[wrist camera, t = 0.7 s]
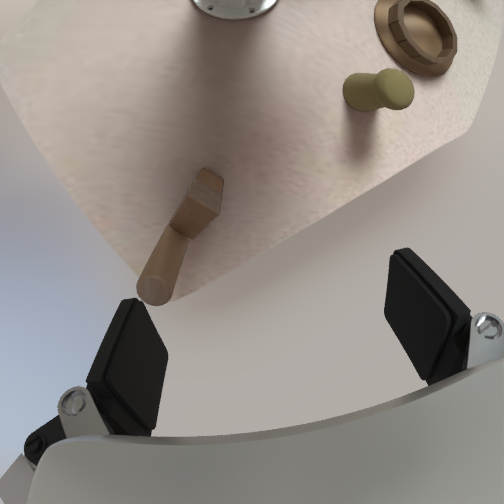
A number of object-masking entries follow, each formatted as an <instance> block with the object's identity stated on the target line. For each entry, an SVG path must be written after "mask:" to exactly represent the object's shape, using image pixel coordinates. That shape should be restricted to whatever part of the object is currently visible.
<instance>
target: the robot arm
mask: <svg viewBox="0 0 504 504" xmlns="http://www.w3.org/2000/svg"><path fill="white" fill-rule="evenodd" d="M193 1H194V3H195V4H196V5H197V6H198V7H199V8H200V9H201V10H202V11H204V12H205V13H207V14H209V15H212V16H214V17H218V18H222V19H229V20H239V19H246V18H251V17H254V16H257V15H259V14H262V13H264V12H265V11H267V10H268V9H270V8H271V7H272V6H273V5H274V4H275V3H276V1H277V0H193ZM210 9H213V10H210ZM250 11H253V12H254V13H251V12H250ZM470 312H471V310H470V309H469V308H468V307H467V306H466V305H465V304H464V303H463V301H462V300H461V299H460V298H459V297H458V296H457V295H456V294H455V293H454V292H453V291H452V290H451V289H450V288H449V286H448V285H447V284H446V283H445V282H444V281H443V280H442V279H441V278H440V277H439V276H438V275H437V274H436V273H435V272H434V271H433V270H432V269H431V268H430V267H429V266H428V265H427V264H426V263H425V262H424V261H423V260H422V259H421V258H420V257H419V256H417V255H416V254H415V253H414V252H413V251H412V250H411V249H410V248H403V249H399V250H395V251H394V253H393V255H391V256H390V262H389V273H388V283H387V292H386V300H385V307H384V314H385V318H386V320H387V321H388V323H389V324H390V326H391V328H392V330H393V331H394V333H395V335H396V336H397V338H398V339H399V341H400V343H401V345H402V346H403V348H404V350H405V351H406V353H407V355H408V356H409V358H410V360H411V362H412V363H413V365H414V367H415V369H416V371H417V373H418V374H419V376H420V378H421V379H422V380H426V382H427V384H428V387H425V388H423V389H420V390H417V391H415V392H412V393H410V394H407V395H405V396H402V397H399V398H396V399H394V400H391V401H388V402H385V403H382V404H379V405H376V406H373V407H369V408H366V409H363V410H359V411H356V412H352V413H349V414H345V415H341V416H337V417H334V418H329V419H325V420H321V421H316V422H312V423H307V424H302V425H297V426H291V427H286V428H279V429H274V430H266V431H259V432H251V433H241V434H231V435H217V436H198V437H151V432H152V430H153V429H155V427H156V422H157V416H158V410H159V404H160V399H161V393H162V388H163V382H164V377H165V371H166V367H167V362H168V352H167V349H166V347H165V345H164V343H163V341H162V339H161V338H160V336H159V334H158V332H157V330H156V328H155V326H154V324H153V322H152V320H151V318H150V316H149V314H148V311H147V309H146V307H145V305H144V303H143V302H142V301H139V300H138V299H137V298H131V299H124V300H122V301H121V303H120V305H119V307H118V309H117V311H116V313H115V315H114V317H113V319H112V322H111V324H110V326H109V328H108V330H107V332H106V334H105V336H104V339H103V341H102V343H101V345H100V348H99V350H98V352H97V355H96V357H95V360H94V362H93V364H92V366H91V369H90V372H89V374H88V376H87V379H86V382H87V387H86V388H84V387H80V386H77V387H73V388H71V389H69V390H67V391H66V392H65V393H64V394H63V395H62V396H61V398H60V400H59V403H58V413H59V415H58V416H56V417H55V418H53V419H52V420H50V421H49V422H47V423H46V424H45V425H43V426H42V427H40V428H39V429H37V430H36V431H34V432H33V433H31V434H30V435H29V436H28V438H27V439H26V442H25V445H24V453H25V455H23V454H20V456H19V457H18V458H17V459H16V460H15V462H14V463H13V464H12V465H11V466H10V468H9V469H8V470H7V471H6V473H5V474H4V475H3V476H2V478H1V479H0V497H1V499H2V500H3V502H4V503H5V504H504V323H503V321H502V320H501V319H500V318H498V317H497V316H496V315H494V314H491V313H487V312H482V313H478V314H476V315H475V316H474V317H473V318H472V317H471V315H470Z"/></svg>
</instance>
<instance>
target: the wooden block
mask: <svg viewBox="0 0 504 504" xmlns="http://www.w3.org/2000/svg"><path fill="white" fill-rule="evenodd" d="M223 183H224V180H223V179H222V178H220V177H219V176H217V175H215V174H214V173H212V172H211V171H209V170H207V169H206V168H203V169H202V170H201V171H200V173H199V174H198V176H197V177H196V179H195V181H194V182H193V184H192V185H191V187H190V189H189V190H188V192H187V194H186V195H185V197H184V199H183V200H182V202H181V203H180V205H179V207H178V208H177V210H176V212H175V214H174V215H173V217H172V219H171V220H170V222H169V224H168V225H167V227H166V228H165V230H164V232H163V234H162V236H161V237H160V239H159V241H158V243H157V245H156V247H155V249H154V250H153V252H152V254H151V256H150V258H149V260H148V262H147V264H146V266H145V268H144V270H143V272H142V274H141V276H140V278H139V280H138V282H137V286H136V287H137V293H138V295H139V297H140V298H141V299H142V300H143V301H144V302H146V303H147V304H150V305H153V306H160V305H163V304H165V303H167V302H168V301H169V300H170V299H171V296H172V293H173V290H174V286H175V283H176V280H177V276H178V273H179V270H180V267H181V264H182V260H183V257H184V254H185V251H186V248H187V245H188V242H189V239H194V238H195V237H196V236H197V235H198V234H199V233H200V232H201V231H202V230H203V229H204V228H205V227H206V226H207V225H208V224H209V223H210V222H211V221H213V220H214V219H215V218H216V217H217V216H218V215H219V213H220V207H221V200H222V189H223Z"/></svg>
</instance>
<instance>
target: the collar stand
mask: <svg viewBox="0 0 504 504" xmlns="http://www.w3.org/2000/svg"><path fill="white" fill-rule="evenodd" d="M374 21H375V26H376V29H377V32H378V34H379V37H380V39H381V41H382V43H383V44H384V46H385V47H386V49H387V50H388V51H389V53H390V54H391V55H392V56H393V57H394V58H395V59H396V60H397V61H398V62H399V63H400V64H401V65H403V66H404V67H405V68H407V69H408V70H410V71H412V72H414V73H416V74H419V75H423V76H437V75H440V74H442V73H444V72H446V71H447V70H448V69H449V67H450V66H451V64H452V61H453V58H454V56H455V55H456V53H457V37H456V36H457V35H456V33H455V30H454V28H453V26H452V24H451V21H450V20H449V18H448V17H447V16H446V14H445V13H444V12H443V11H442V10H441V9H440V8H439V7H438V5H436V4H435V3H433V2H431V1H430V0H378V2H377V4H376V6H375V10H374Z"/></svg>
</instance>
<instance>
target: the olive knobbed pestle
mask: <svg viewBox="0 0 504 504" xmlns="http://www.w3.org/2000/svg"><path fill="white" fill-rule="evenodd" d="M343 94H344V98H345V100H346V102H347V103H348V104H349V105H350V106H351V107H352V108H354V109H355V110H357V111H361V112H367V111H371V110H375V109H379V108H383V107H386V108H389V109H392V110H402V109H404V108H407V107H408V106H409V105H410V104H411V103H412V101H413V98H414V86H413V84H412V81H411V80H410V79H409V77H408V76H407V75H406V74H404V73H403V72H402V71H399V70H397V69H389V68H388V69H385V70H382V71H380V72H379V73H378V74H368V73H355V74H352V75H350V76H349V77H348V78H347V79H346V80H345V82H344V84H343Z"/></svg>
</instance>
